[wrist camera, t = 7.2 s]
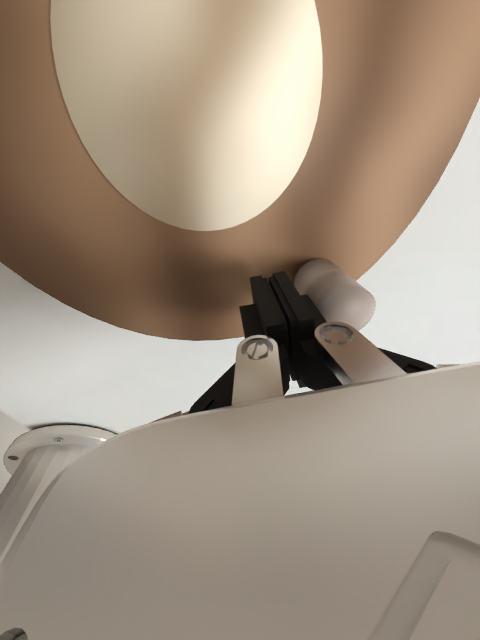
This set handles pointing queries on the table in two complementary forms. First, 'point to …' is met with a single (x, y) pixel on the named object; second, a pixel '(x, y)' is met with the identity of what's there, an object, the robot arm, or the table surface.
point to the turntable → (222, 148)
